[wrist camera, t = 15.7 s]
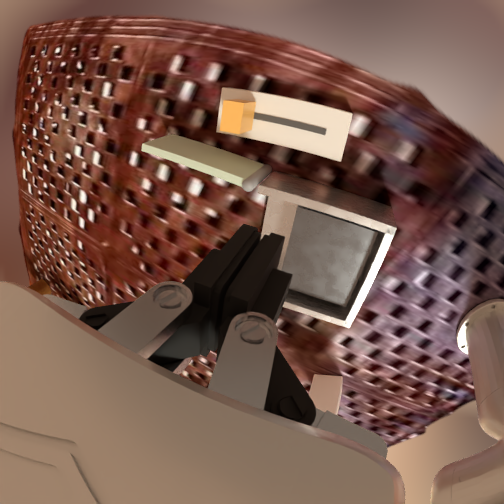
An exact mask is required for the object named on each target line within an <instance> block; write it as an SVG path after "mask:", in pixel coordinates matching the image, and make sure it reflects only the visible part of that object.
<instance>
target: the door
mask: <svg viewBox="0 0 504 504" xmlns="http://www.w3.org/2000/svg"><path fill="white" fill-rule="evenodd" d="M142 151H144V152H147V153H150V154H153V155H156V156H159V157H162V158H165V159H168V160H171V161H173V162H176V163H179V164H182V165H185V166H188V167H190V168H193V169H196V170H199V171H201V172H204V173H207V174H210V175H212V176H215V177H218V178H220V179H223V180H226V181H228V182H231V183H234V184H236V185H239V186H241V187H243V189H244V190H245V191H252V190H253V189H254V188H255V187H256V186H257V185H258V184H259V183H260V182H262V181H263V180H264V179H265V178H266V177H267V176H268V175H269V174H270V173H271V172H272V167H271V166H270V165H268V164H265V165H264V164H261V163H259V162H256V161H253V160H251V159H248V158H245V157H242V156H239V155H236V154H234V153H231V152H228V151H225V150H222V149H219V148H216V147H213V146H210V145H207V144H204V143H201V142H198V141H194V140H191V139H188V138H185V137H181V136H178V135H175V134H171V135H167V136H164V137H161V138H158V139H155V140H152V141H149V142H146V143H143V144H142Z"/></svg>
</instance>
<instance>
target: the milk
mask: <svg viewBox="0 0 504 504" xmlns="http://www.w3.org/2000/svg"><path fill="white" fill-rule="evenodd" d="M342 380H343V376H331V375H319V374H314V377H313V381H312V384H311V388H310V392H309V396H310V398H311V399H312V401H313V403H314V405H315V407H316V408H317V409H319V410H321V411H323V412H326V411H327V410H328V411H330V412H332V413H333V414H335V415H337V414H338V409H339V404H340V399H341V394H342Z"/></svg>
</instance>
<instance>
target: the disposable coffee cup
mask: <svg viewBox="0 0 504 504" xmlns="http://www.w3.org/2000/svg"><path fill="white" fill-rule="evenodd" d="M28 288H30V289H32V290H34V291H36V292H38V293H39V294H41V295H46V294H49V295H50V294H51V289H50V287H49V285H48V284H47V283H46V282H45V281H44V280H43V279H41V280H39V281H37V282H36V283H34V284H32V285H31V286H29V287H28Z"/></svg>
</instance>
